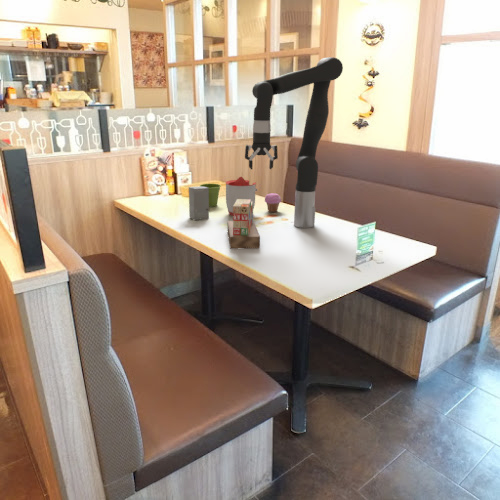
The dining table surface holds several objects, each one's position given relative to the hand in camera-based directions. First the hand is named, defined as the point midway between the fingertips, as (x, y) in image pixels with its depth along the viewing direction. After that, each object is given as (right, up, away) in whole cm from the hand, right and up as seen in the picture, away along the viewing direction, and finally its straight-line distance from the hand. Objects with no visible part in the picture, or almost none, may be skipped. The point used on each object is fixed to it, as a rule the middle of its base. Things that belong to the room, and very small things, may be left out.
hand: (260, 169), depth 198 cm
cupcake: (+7, -15, +42) cm, 46 cm away
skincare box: (-30, -20, +27) cm, 45 cm away
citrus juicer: (-9, -18, +35) cm, 40 cm away
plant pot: (-27, -11, +53) cm, 61 cm away
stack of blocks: (-8, -27, -6) cm, 28 cm away
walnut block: (-8, -31, -5) cm, 33 cm away
